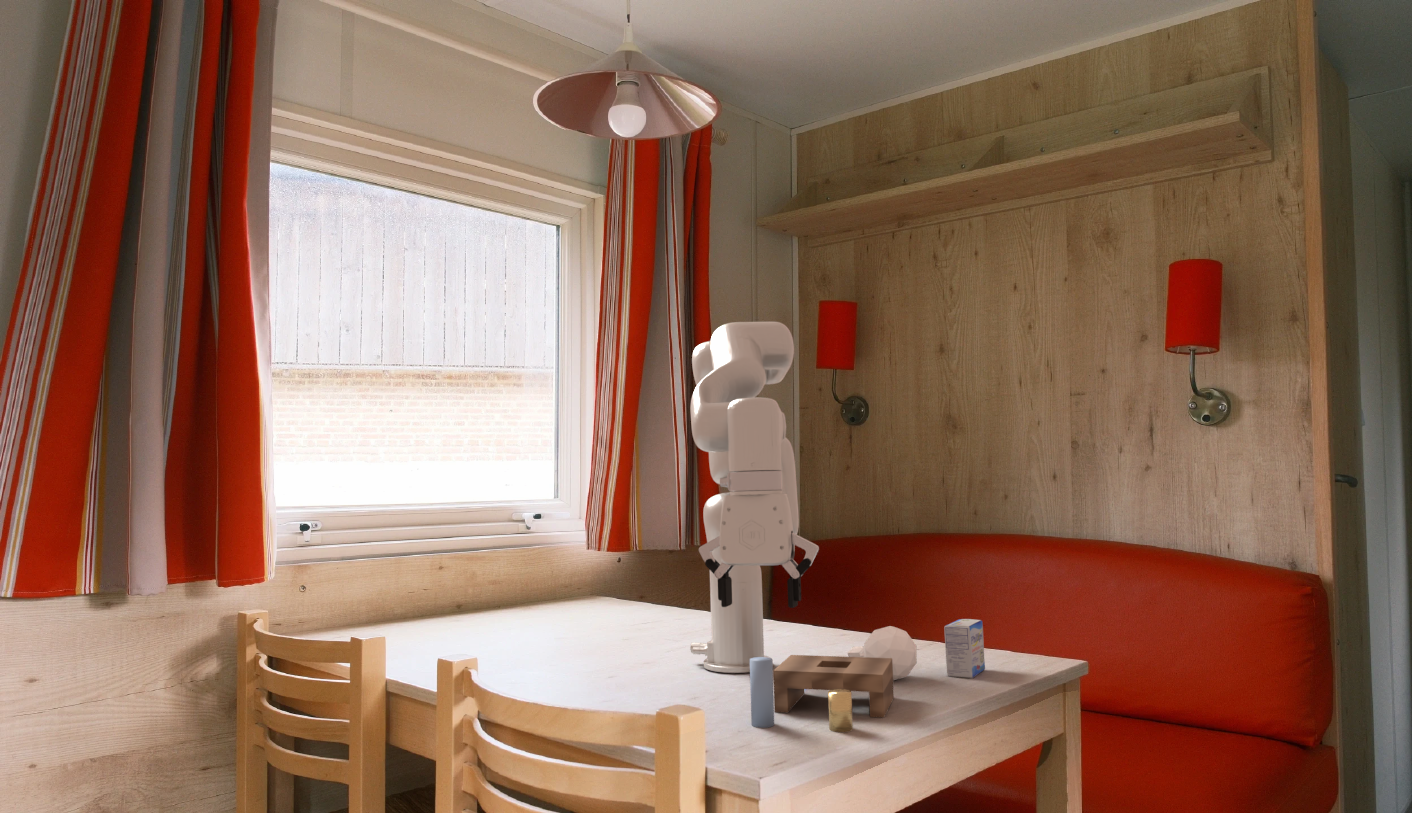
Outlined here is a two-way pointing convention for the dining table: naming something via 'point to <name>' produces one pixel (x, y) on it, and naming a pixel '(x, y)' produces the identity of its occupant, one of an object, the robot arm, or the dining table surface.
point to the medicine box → (964, 648)
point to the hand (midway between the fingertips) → (759, 606)
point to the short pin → (840, 710)
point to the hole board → (834, 679)
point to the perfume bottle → (890, 649)
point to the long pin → (761, 692)
